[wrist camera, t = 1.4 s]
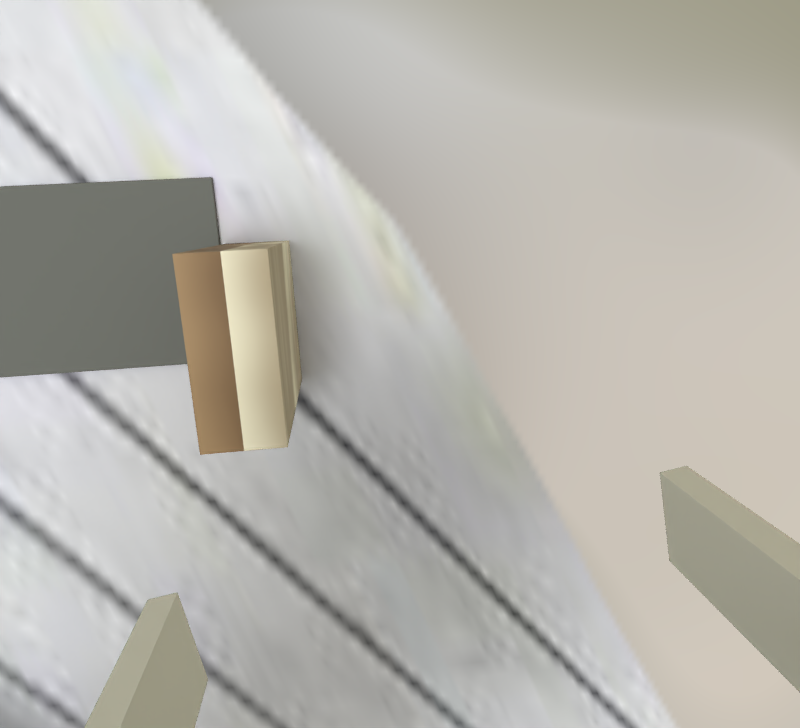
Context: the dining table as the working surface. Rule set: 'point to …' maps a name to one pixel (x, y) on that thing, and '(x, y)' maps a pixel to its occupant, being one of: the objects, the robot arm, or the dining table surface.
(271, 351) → the slab
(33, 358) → the mat
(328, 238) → the dining table surface
